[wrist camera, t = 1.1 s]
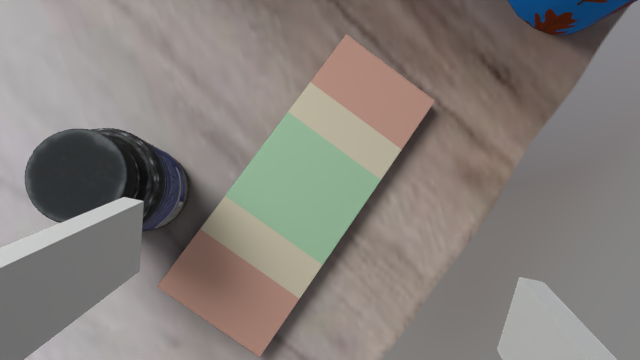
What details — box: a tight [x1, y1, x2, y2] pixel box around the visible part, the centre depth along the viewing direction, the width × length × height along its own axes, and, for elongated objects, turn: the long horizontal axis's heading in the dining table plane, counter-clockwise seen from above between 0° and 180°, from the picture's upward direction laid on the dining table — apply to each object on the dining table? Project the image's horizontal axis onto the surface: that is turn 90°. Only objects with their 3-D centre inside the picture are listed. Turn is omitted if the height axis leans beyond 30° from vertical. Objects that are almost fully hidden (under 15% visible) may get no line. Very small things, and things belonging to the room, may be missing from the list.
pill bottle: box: [25, 128, 189, 231], centre depth 24 cm, size 6×6×11 cm
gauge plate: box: [157, 34, 435, 357], centre depth 30 cm, size 9×24×1 cm, turn 145°
